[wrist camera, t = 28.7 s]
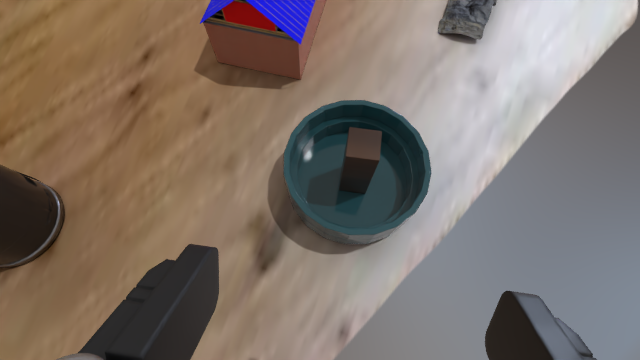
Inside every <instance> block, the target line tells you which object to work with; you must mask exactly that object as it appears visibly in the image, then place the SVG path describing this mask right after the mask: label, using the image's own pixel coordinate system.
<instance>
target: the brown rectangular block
mask: <svg viewBox="0 0 640 360" xmlns="http://www.w3.org/2000/svg"><path fill="white" fill-rule="evenodd" d="M381 138H382V131H376V130H368V129H361V128H353V127H349V131H348V137H347V142H346V147H345V152H344V158H343V163H342V169H341V177H340V185H339V190H340V191H347V192H355V193H362V194H365V193H366V191H367V189H368V186H369V184H370V182H371V179H372V177H373V175H374V172H375V170H376V168H377V165H378V163H379V161H380V150H381Z"/></svg>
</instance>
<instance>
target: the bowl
mask: <svg viewBox="0 0 640 360" xmlns="http://www.w3.org/2000/svg"><path fill="white" fill-rule="evenodd" d="M349 127H353V128H361V129H368V130H376V131H382V138H381V150H380V161H379V163H378V165H377V168H376V170H375V172H374V175H373V177H372V179H371V182H370V184H369V186H368V189H367V191H366V193H365V194H362V193H355V192H347V191H340V190H339V185H340V177H341V169H342V163H343V158H344V152H345V147H346V142H347V137H348V131H349ZM430 177H431V167H430V160H429V153H428V150H427V148H426V146H425V144H424V142H423V140H422V138H421V136H420V134H419V132H418V131H417V130H416V129H415V128H414V127H413V126H412V125H411V124H410V123H409V122H408V121H407V120H406V119H405V118H404V117H403V116H402V115H400V114H398V113H396V112H395V111H393V110H391V109H389V108H388V107H386V106H384V105H380V104H376V103H372V102H369V101H365V100H343V101H339V102H336V103H332V104H329V105H325V106H322V107H320V108H319V109H317V110H316V111H314V112H313V113H311V114H309V115H308V116H306V117H305V118H304V119H303V120H302V121H301V122H300V124H299V125H298V126H297V127H296V128H295V130H294V131H293V132H292V134H291V136H290V139H289V141H288V144H287V146H286V149H285V152H284V178H285V182H286V187H287V191H288V194H289V197H290V200H291V203H292V206H293V208H294V210H295V211H296V213H297V214H298V215H299V217H300V218H301V219H302V221H303V222H304V223H305V225H306V226H308V227H309V228H311V229H312V230H313V231H315V232H316V233H318V234H319V235H321V236H322V237H324V238H326V239H329V240H333V241H336V242H339V243H343V244H368V243H371V242H374V241H377V240H380V239H383V238H386V237H387V236H389V235H390V234H392V233H393V232H394V231H396V230H397V229H398V228H399V227H401V226H402V225H403V224H404V223H405V222H406V221H407V220H408V219H409V218H410V217H411V216H412V215H413V214H414V213H415V212H416V211H417V209H418V208H419V206H420V204H421V203H422V201H423V199H424V198H425V196H426V195H427V192H428V187H429V182H430Z"/></svg>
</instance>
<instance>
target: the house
mask: <svg viewBox="0 0 640 360" xmlns="http://www.w3.org/2000/svg"><path fill="white" fill-rule="evenodd" d="M325 2H326V0H211V2H210V4H209V6H208V8H207V10H206V12H205V14H204V16H203V18H202V20H201V22H200V23H202V22H203V21H204V22H203V23H204V26H205V28H206V31H207V34H208V36H209V39H210V42H211V44H212V47H213V49H214V52H215V55H216V57H217V60H218V62H220V63H225V64H230V65H235V66H239V67H244V68H249V69H253V70H258V71H263V72H267V73H272V74H277V75H281V76H286V77H291V78H296V79H300V80H301V77H302V74H303V70H304V67H305V64H306V61H307V58H308V55H309V52H310V49H311V46H312V42H313V39H314V36H315V33H316V30H317V27H318V24H319V21H320V18H321V14H322V11H323V8H324V5H325ZM238 25H240V26H238ZM243 26H245V27H243ZM248 27H250V28H248ZM253 28H255V29H253ZM278 28H280V29H282V30H283V31H284V32H280V31H278ZM257 29H260V30H257ZM262 30H265V31H262ZM267 31H270V32H267ZM272 32H275V33H272ZM277 33H279V34H277ZM282 34H284V35H282ZM287 35H289V36H287Z"/></svg>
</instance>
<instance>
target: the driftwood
mask: <svg viewBox="0 0 640 360" xmlns="http://www.w3.org/2000/svg"><path fill="white" fill-rule="evenodd" d="M495 5H496V0H450V1H449V4H448V6H447V9H446V12H445V15H444V18H443V19H441V21H440V25H439V28H438V31H439V33H457V34H463V35H466V36H470V37H472V38H475V39H481V38H482V36H483V30H484V27H485V25H486V23H487V21H488V18H489V15H490V13H491V9H492V6H495Z"/></svg>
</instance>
